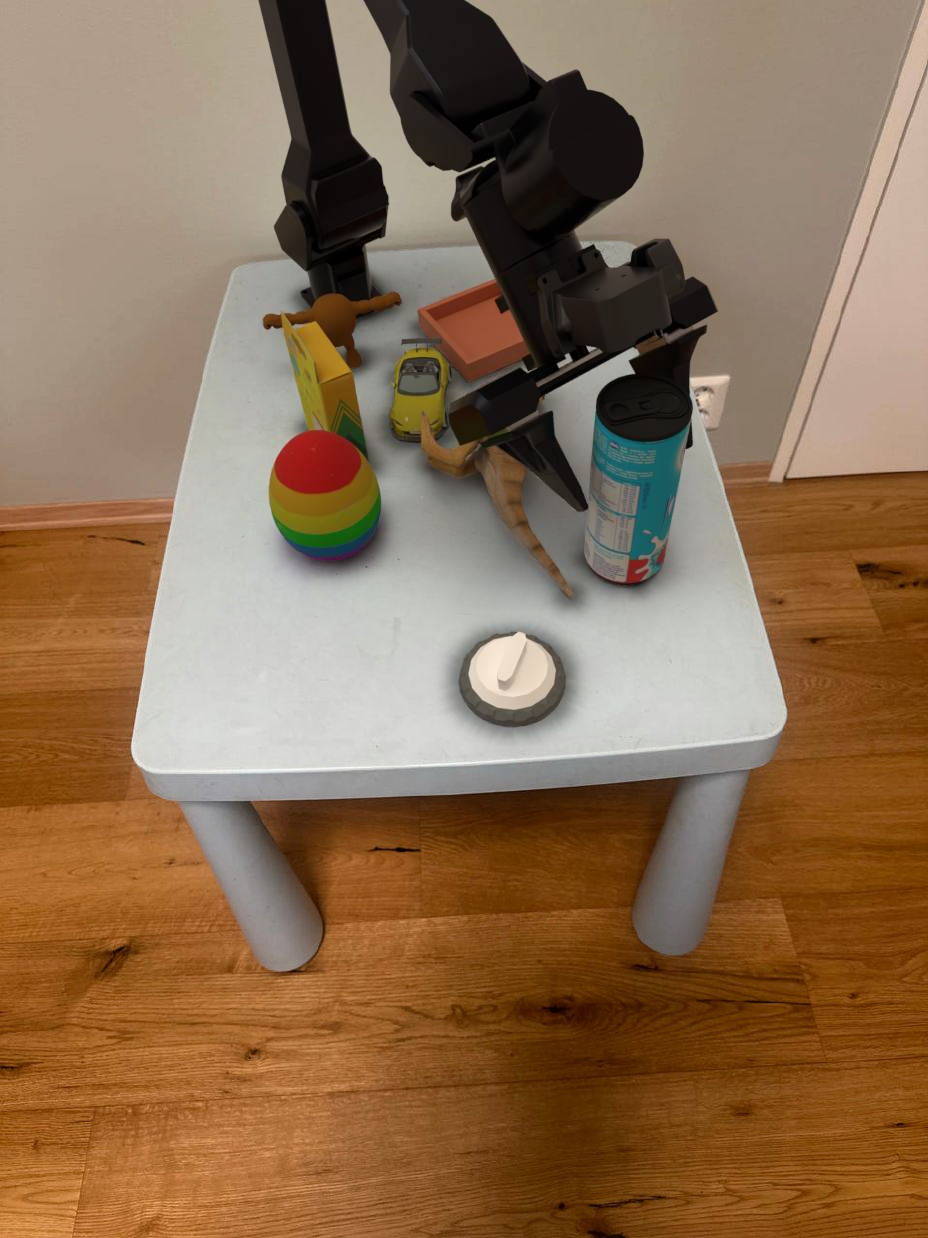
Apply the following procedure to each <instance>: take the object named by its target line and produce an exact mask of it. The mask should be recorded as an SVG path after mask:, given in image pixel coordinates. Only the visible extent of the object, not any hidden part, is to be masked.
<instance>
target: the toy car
mask: <svg viewBox="0 0 928 1238" xmlns="http://www.w3.org/2000/svg"><path fill="white" fill-rule="evenodd" d="M400 344H401V346H403V345H415V346H416V347H414V348H411V349H408V350H407V351H405V352H404V354H403V355H402V357H401V358H400V359H398V361H397V362H396V363H395V364H394V368H393V381H391V383H390V384H391V386H392V387H393V388H394V398H393V405H392V406H391V408H390V410H389V418H388V419H389V420H388V421H389V423H388V425H389V427H390V428H392V429H393V430H391V435H393V437H394V438H395V439H397V440H399V441H401V442H402V441H405V442H406V441H407V442H421V418H422V410H424V411H425V412H426V414H427V416H428V418H429V422H430V425H431V427H432V428H433V430H434V433H435V440H437V439H438V438H440V437H441V436H442V435H443V434H444V432H445V430H444V429H442V428H445V427H447V426H448V413H447V411H446V408H445V404H444V402H445V394H446V387H447V386H448V382H451V381H452V376H453V375H452V367H451V365H450V364H451V363H450V362H448V361H447V360H446V358H445V357H444V355H442V354H441V352H440V351H439V350H438V349H435V348H432V347H428V346H426V347H418V344H420V345H421V344H434V345H435V344H441V345H442V337H441V338H428V337H415V338H414V337H413V338H401V343H400Z"/></svg>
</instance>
